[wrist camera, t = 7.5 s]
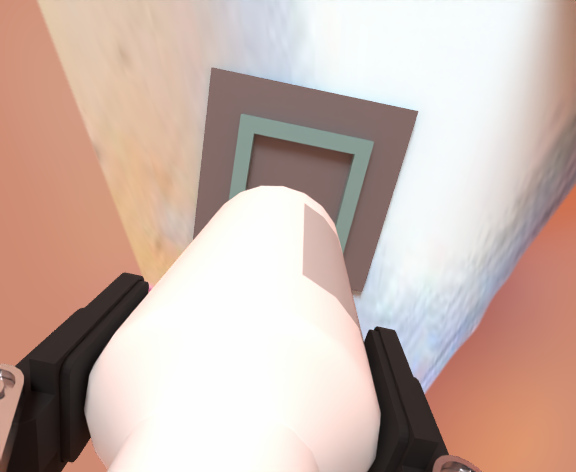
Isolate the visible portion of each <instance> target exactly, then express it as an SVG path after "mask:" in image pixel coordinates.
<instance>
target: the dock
mask: <svg viewBox="0 0 576 472" xmlns="http://www.w3.org/2000/svg"><path fill="white" fill-rule="evenodd" d="M417 114H418V111H414V110H409V109H405V108H400V107H395V106H391V105H386V104H381V103H377V102H372V101H367V100H362V99H358V98H353V97H348V96H344V95H339V94H334V93H329V92H325V91H320V90H315V89H311V88H306V87H301V86H297V85H292V84H287V83H282V82H278V81H273V80H268V79H264V78H259V77H254V76H249V75H245V74H240V73H235V72H231V71H226V70H221V69H217V68H212V69H211V78H210V87H209V96H208V106H207V115H206V124H205V134H204V143H203V152H202V161H201V171H200V180H199V189H198V199H197V208H196V217H195V226H194V236H193V240H194V239H195V238H196V237H197V235H198V234H199V233H200V232H201V231H202V229H203V228H204V227H205V226H206V225H207V224H208V222H209V221H210V220H211V219H212V218H213V216H214V215H215V214H216V213H217V212H218V211H219V209H220V208H221V207H222V206H223V205H224V204H225V203H226V202H228V201H229V200H231V199H232V198H233V197H235V196H236V195H237V194H239V193H240V192H243V191H246V190H250V189H253V188H256V187H259V186H284V187H287V188H290V189H293V190H296V191H299V192H302V193H305V194H306V195H308V196H309V197H310V198H312V199H313V200H314V201H316V202H317V203H318V204H320V205H321V206H322V207H323V208H324V209H325V211H326V212H327V214H328V215H329V217H330V218H331V219H332V221H333V222H334V224H335V227H336V231H337V234H338V238H339V241H340V245H341V249H342V253H343V257H344V262H345V266H346V270H347V274H348V278H349V282H350V287H351V290H355V291H360V292H362V291H363V287H364V284H365V281H366V278H367V275H368V271H369V268H370V265H371V262H372V259H373V255H374V252H375V249H376V246H377V242H378V239H379V236H380V233H381V230H382V226H383V223H384V220H385V217H386V214H387V210H388V207H389V204H390V201H391V198H392V194H393V191H394V188H395V185H396V182H397V178H398V175H399V172H400V169H401V166H402V162H403V159H404V156H405V153H406V149H407V146H408V143H409V140H410V137H411V133H412V130H413V127H414V124H415V121H416V117H417Z"/></svg>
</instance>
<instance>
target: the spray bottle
mask: <svg viewBox="0 0 576 472" xmlns="http://www.w3.org/2000/svg"><path fill="white" fill-rule="evenodd" d="M84 413H85V416H86V420H87V424H88V428H89V432H90V436H91V439H92V443H93V447H94V449H95V452H96V454H97V455H98V457H99V458H100V460H101V461H102V463H103V464H104V465H105V467H106V468H107V470H108V471H107V472H368V470H369V468H370V467H371V465H372V463H373V462H374V460H375V458H376V451H377V443H378V435H379V427H380V416H381V412H380V408H379V404H378V399H377V395H376V391H375V387H374V383H373V379H372V374H371V370H370V366H369V362H368V358H367V353H366V349H365V345H364V341H363V337H362V333H361V328H360V324H359V320H358V316H357V312H356V308H355V303H354V299H353V295H352V291H351V287H350V282H349V278H348V274H347V270H346V266H345V262H344V257H343V253H342V249H341V245H340V241H339V238H338V234H337V231H336V227H335V224H334V222H333V221H332V219H331V218H330V217H329V215H328V214H327V212H326V211H325V209H324V208H323V207H322V206H321V205H320V204H318V203H317V202H316V201H314V200H313V199H312V198H310V197H309V196H308V195H306V194H305V193H302V192H299V191H296V190H293V189H290V188H287V187H284V186H259V187H256V188H253V189H250V190H246V191H243V192H240V193H239V194H237V195H236V196H235V197H233V198H232V199H231V200H229V201H228V202H226V203H225V204H224V205H223V206H222V207H221V208H220V209H219V211H218V212H217V213H216V214H215V215H214V216H213V218H212V219H211V220H210V221H209V222H208V224H207V225H206V226H205V227H204V228H203V229H202V231H201V232H200V233H199V234H198V235H197V237H196V238H195V239H194V240H193V241H192V242H191V244H190V245H189V246H188V247H187V248H186V250H185V251H184V252H183V253H182V254H181V255H180V257H179V258H178V259H177V260H176V261H175V263H174V264H173V265H172V266H171V267H170V268H169V270H168V271H167V272H166V273H165V274H164V276H163V277H162V278H161V279H160V280H159V281H158V283H157V284H156V285H155V286H154V287H153V289H152V290H151V291H150V292H149V293H148V294H147V296H146V297H145V298H144V299H143V300H142V302H141V303H140V304H139V305H138V306H137V308H136V309H135V310H134V311H133V312H132V313H131V315H130V316H129V317H128V318H127V319H126V321H125V322H124V323H123V324H122V325H121V326H120V328H119V329H118V330H117V331H116V332H115V334H114V335H113V337H112V338H111V340H110V341H109V343H108V344H107V346H106V347H105V349H104V350H103V352H102V353H101V355H100V356H99V358H98V359H97V361H96V362H95V364H94V365H93V368H92V370H91V373H90V375H89V380H88V387H87V393H86V400H85V406H84Z"/></svg>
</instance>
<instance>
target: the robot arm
mask: <svg viewBox="0 0 576 472" xmlns="http://www.w3.org/2000/svg"><path fill="white" fill-rule="evenodd" d="M148 289H149V284H148V282H145V281H144V278H143V276H139V275H134V274H130V273H122V274H121V275H120V276H119V277H118V278H117V279H116V280H114V282H112V283H111V284H110V285H109V286H108V287H107V288H106V289H105V290H104V291H103V292H101V293H100V294H99V295H98V296H97V297H96V298H95V299H94V300H93V301H92V302H90V303H89V304H88V305H87V306H86V307H85V308H81V309H79V310H77V311H76V312H75V313H74V314H73V315H71V316H70V317H69V318H68V319H67V320H66V321H65V322H64V323H63V324H61V325H60V326H59V327H58V328H57V329H56V330H55V331H54V332H52V333H51V334H50V335H49V336H48V337H47V338H46V339H45V340H44V341H42V342H41V343H40V344H39V345H38V346H37V347H36V348H35V349H33V350H32V351H31V352H30V353H29V354H28V355H27V356H26V357H25V358H23V359H22V360H21V361H20V362H19V363H18V364H17V365H16V366H11V365H7V364H0V472H61V471H62V470H63V468H64V467H65V465H66V464H67V462H74V461H75V460H76V459H77V458H78V456H79V455H80V453H81V452H82V450H83V449H84V447H85V446H86V444H87V442H88V441H89V439H90V438H91V436H90V432H89V428H88V424H87V420H86V416H85V413H84V406H85V400H86V393H87V387H88V380H89V375H90V373H91V370H92V368H93V365H94V364H95V362H96V361H97V359H98V358H99V356H100V355H101V353H102V352H103V350H104V349H105V347H106V346H107V344H108V343H109V341H110V340H111V338H112V337H113V335H114V334H115V332H116V331H117V330H118V329H119V328H120V326H121V325H122V324H123V323H124V322H125V321H126V319H127V318H128V317H129V316H130V315H131V313H132V312H133V311H134V310H135V309H136V308H137V306H138V305H139V304H140V303H141V302H142V300H143V299H144V298H145V297H146V296H147V294H148ZM364 345H365V349H366V353H367V358H368V362H369V366H370V370H371V374H372V379H373V383H374V387H375V391H376V395H377V399H378V404H379V408H380V412H381V416H380V427H379V435H378V443H377V451H376V458H375V460H374V462H373V463H372V465H371V467H370V468H369V470H368V472H482V471H481V470H479V468H477V467H476V466H474V465H473V464H472V463H470V462H469V461H466V460H465V459H462V458H460V457H458V456H453V455H449V454H448V451H447V449H446V446H445V444H444V441H443V439H442V436H441V434H440V432H439V429H438V427H437V424H436V422H435V419H434V417H433V414H432V412H431V410H430V407H429V405H428V402H427V400H426V397H425V395H424V392H423V390H422V387H421V385H420V383H419V381H418V379H416V378H415V377H413V374H412V372H411V369H410V367H409V364H408V362H407V359H406V357H405V354H404V352H403V349H402V347H401V344H400V341H399V339H398V336H397V334H396V332H395V330H392V329H387V328H382V327H378V326H377V327H376V328H375V329H374V330H369V331H368V333H367V336H366V339H365V341H364Z"/></svg>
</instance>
